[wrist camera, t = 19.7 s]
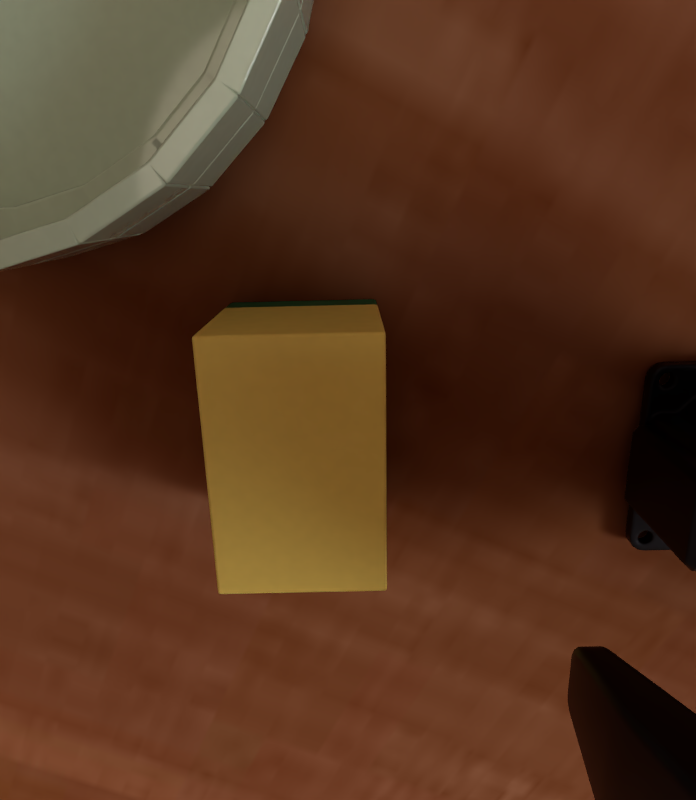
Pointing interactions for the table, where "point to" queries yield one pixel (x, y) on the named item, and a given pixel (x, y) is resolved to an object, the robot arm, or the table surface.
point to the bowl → (128, 111)
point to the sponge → (295, 445)
